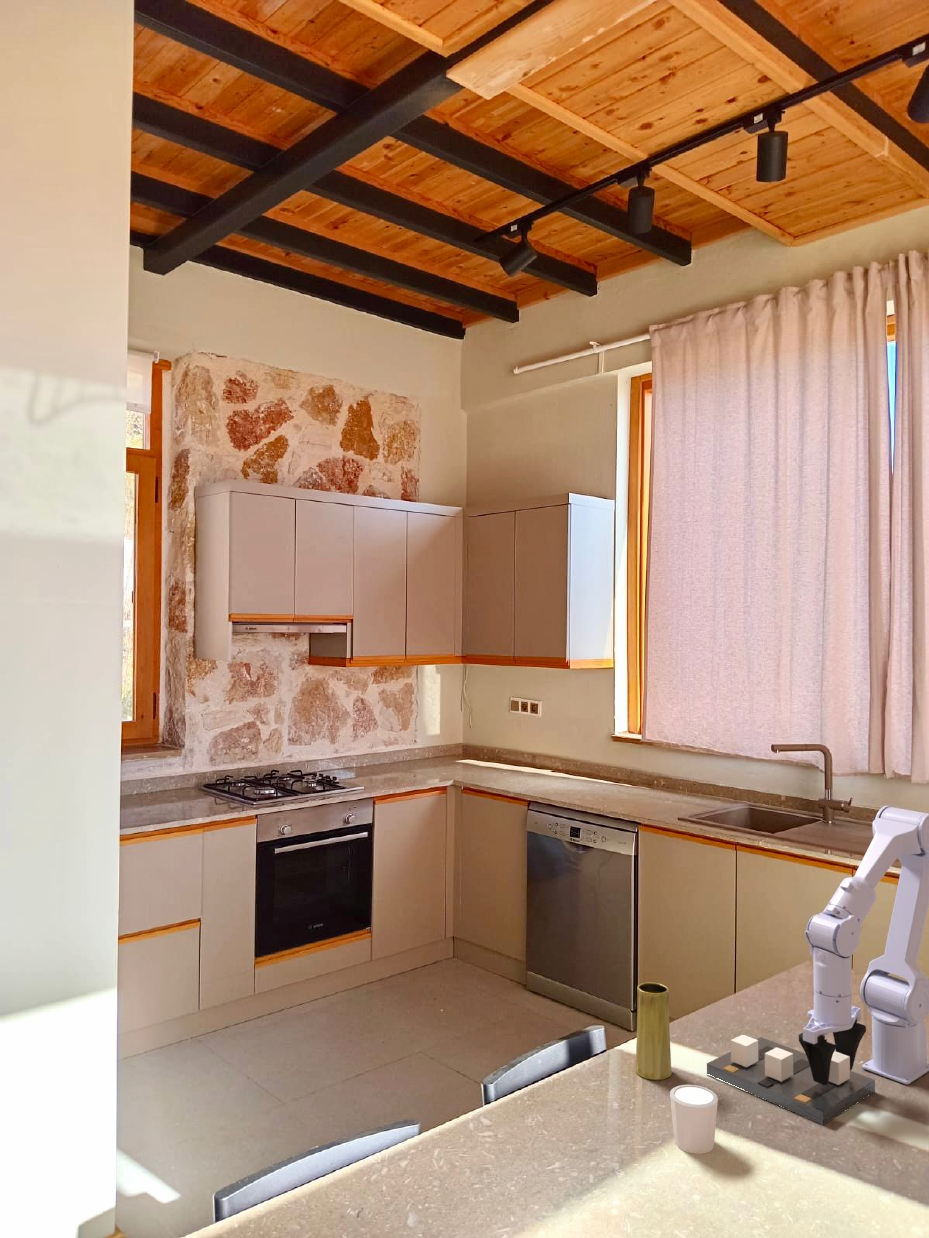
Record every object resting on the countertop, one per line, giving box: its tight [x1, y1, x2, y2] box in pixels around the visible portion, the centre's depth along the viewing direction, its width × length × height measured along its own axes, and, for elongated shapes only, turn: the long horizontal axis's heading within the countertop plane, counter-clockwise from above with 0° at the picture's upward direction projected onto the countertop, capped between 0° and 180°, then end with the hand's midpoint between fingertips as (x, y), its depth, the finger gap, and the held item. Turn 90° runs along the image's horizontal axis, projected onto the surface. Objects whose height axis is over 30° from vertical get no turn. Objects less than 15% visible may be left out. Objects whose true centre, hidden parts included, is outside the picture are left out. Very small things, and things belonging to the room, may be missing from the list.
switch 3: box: [828, 1050, 850, 1085], centre depth 153 cm, size 4×3×4 cm
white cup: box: [669, 1084, 719, 1155], centre depth 138 cm, size 7×7×7 cm
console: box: [706, 1036, 876, 1126], centre depth 156 cm, size 16×21×2 cm
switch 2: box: [765, 1047, 793, 1082], centre depth 154 cm, size 4×3×4 cm
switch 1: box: [730, 1034, 758, 1067], centre depth 159 cm, size 4×3×4 cm
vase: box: [634, 981, 673, 1081], centre depth 160 cm, size 6×6×14 cm
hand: (832, 1075), depth 153 cm, fingers open, 7 cm apart
